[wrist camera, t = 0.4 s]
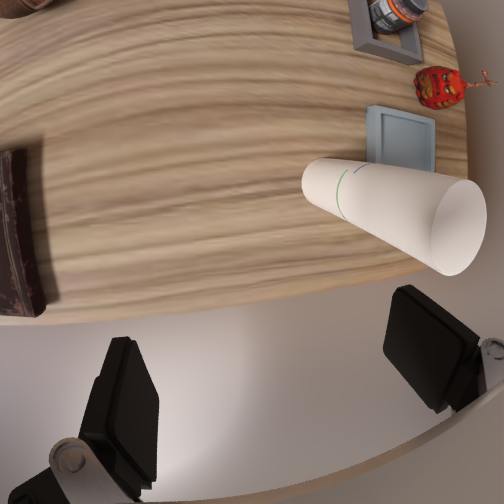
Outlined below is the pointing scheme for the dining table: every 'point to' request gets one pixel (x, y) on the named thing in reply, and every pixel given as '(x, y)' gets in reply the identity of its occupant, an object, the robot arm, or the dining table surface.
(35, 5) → the reflective sphere
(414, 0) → the supplement bottle
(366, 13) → the dock
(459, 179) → the cylindrical container
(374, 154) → the tray
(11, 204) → the diary
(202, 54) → the dining table surface
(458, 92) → the red clay folk toy
